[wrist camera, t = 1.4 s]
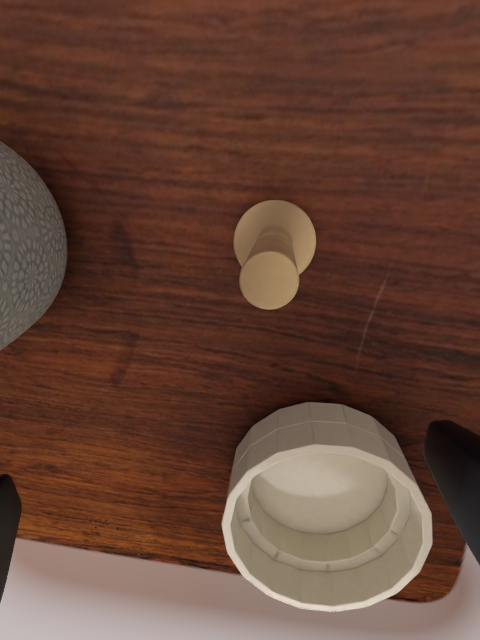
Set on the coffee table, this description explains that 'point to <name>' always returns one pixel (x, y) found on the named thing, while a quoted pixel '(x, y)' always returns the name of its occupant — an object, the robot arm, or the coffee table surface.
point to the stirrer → (273, 252)
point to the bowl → (325, 509)
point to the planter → (27, 246)
